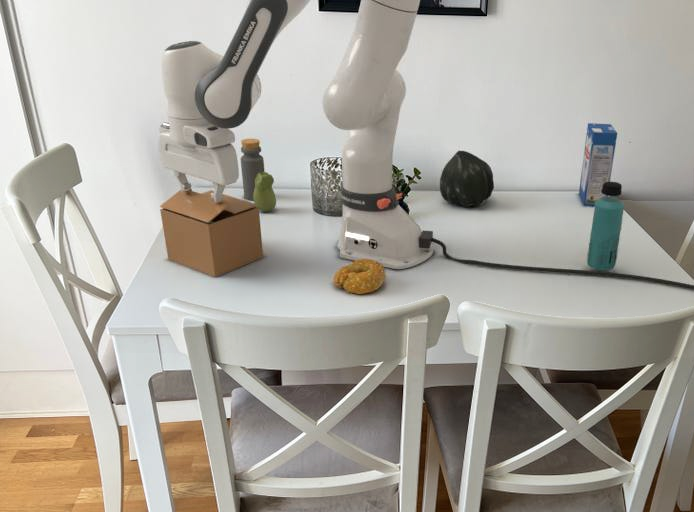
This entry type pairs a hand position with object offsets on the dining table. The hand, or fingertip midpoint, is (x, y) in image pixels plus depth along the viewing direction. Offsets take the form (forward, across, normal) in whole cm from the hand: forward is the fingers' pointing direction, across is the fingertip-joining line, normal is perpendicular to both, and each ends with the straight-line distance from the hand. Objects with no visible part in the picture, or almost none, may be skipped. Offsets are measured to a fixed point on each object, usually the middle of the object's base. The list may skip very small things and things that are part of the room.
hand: (201, 196), depth 156 cm
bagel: (+14, +34, +10) cm, 38 cm away
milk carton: (+14, +49, +94) cm, 107 cm away
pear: (+15, -13, +30) cm, 36 cm away
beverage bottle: (+14, +71, +49) cm, 87 cm away
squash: (+14, +23, +69) cm, 74 cm away
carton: (+14, 0, +2) cm, 15 cm away
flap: (+1, 0, -2) cm, 2 cm away
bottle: (+15, -23, +36) cm, 45 cm away
